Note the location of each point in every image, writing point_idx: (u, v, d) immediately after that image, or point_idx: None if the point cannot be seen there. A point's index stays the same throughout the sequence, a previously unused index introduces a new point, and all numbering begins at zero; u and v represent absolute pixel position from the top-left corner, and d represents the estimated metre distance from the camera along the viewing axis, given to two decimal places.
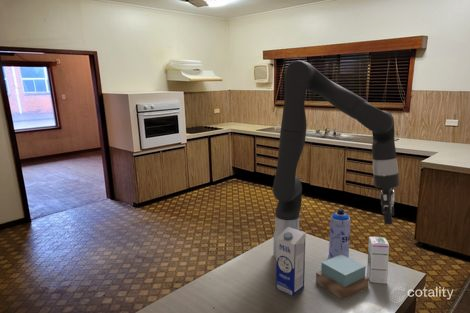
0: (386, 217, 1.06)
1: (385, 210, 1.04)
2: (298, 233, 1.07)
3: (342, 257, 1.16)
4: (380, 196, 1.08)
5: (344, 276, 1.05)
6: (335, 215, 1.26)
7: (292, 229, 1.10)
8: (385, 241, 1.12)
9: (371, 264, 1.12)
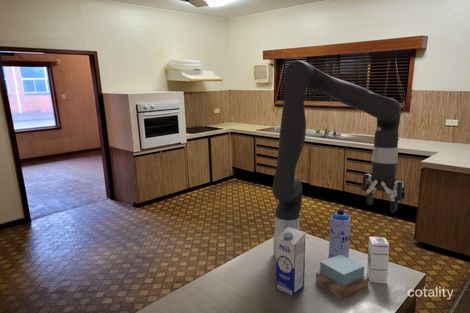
0: (395, 205, 1.06)
1: (401, 197, 1.04)
2: (298, 233, 1.07)
3: (341, 257, 1.16)
4: (386, 185, 1.06)
5: (342, 275, 1.05)
6: (335, 215, 1.26)
7: (292, 229, 1.10)
8: (385, 241, 1.12)
9: (371, 264, 1.12)
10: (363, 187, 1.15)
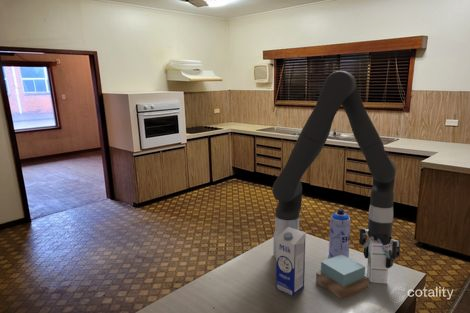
0: (391, 262, 1.10)
1: (396, 256, 1.08)
2: (298, 233, 1.07)
3: (342, 257, 1.16)
4: (382, 242, 1.10)
5: (343, 276, 1.05)
6: (335, 215, 1.26)
7: (292, 229, 1.10)
8: None
9: (371, 264, 1.12)
10: (360, 241, 1.18)
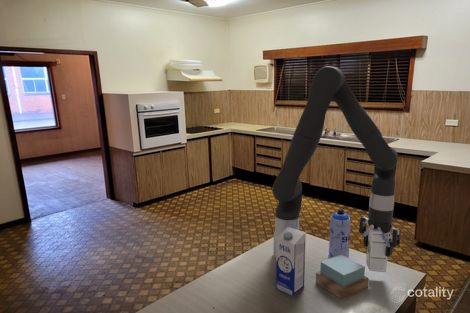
0: (390, 250, 1.09)
1: (396, 244, 1.07)
2: (298, 233, 1.07)
3: (342, 257, 1.16)
4: (382, 231, 1.09)
5: (342, 276, 1.05)
6: (335, 215, 1.26)
7: (292, 229, 1.10)
8: None
9: (371, 252, 1.12)
10: (360, 229, 1.18)
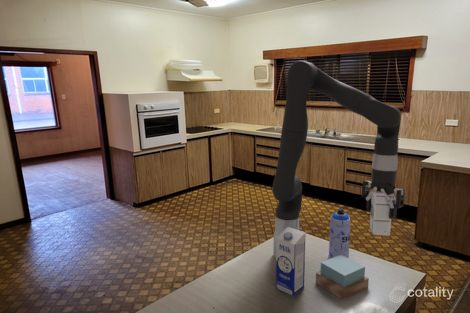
0: (394, 212, 1.07)
1: (400, 205, 1.05)
2: (298, 233, 1.07)
3: (341, 257, 1.16)
4: (385, 192, 1.07)
5: (343, 276, 1.05)
6: (335, 215, 1.26)
7: (292, 229, 1.10)
8: None
9: (374, 215, 1.09)
10: (363, 194, 1.15)
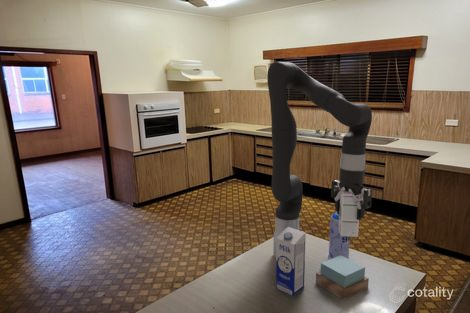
0: (362, 213, 1.04)
1: (367, 205, 1.02)
2: (298, 233, 1.07)
3: (341, 257, 1.15)
4: (353, 192, 1.04)
5: (344, 277, 1.04)
6: (335, 215, 1.26)
7: (292, 229, 1.10)
8: None
9: (342, 216, 1.06)
10: (332, 194, 1.12)
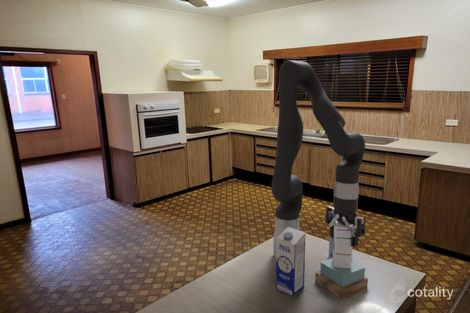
0: (356, 240, 1.05)
1: (361, 234, 1.03)
2: (298, 233, 1.07)
3: None
4: (346, 220, 1.05)
5: (342, 277, 1.05)
6: None
7: (292, 229, 1.10)
8: None
9: (335, 248, 1.08)
10: (326, 220, 1.13)
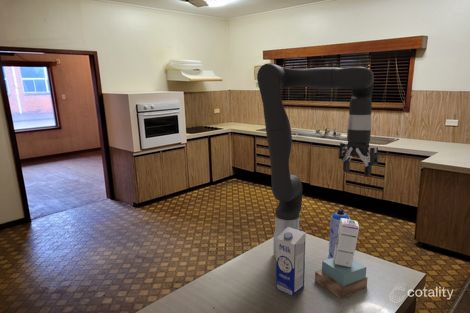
0: (369, 170, 1.11)
1: (374, 162, 1.09)
2: (298, 233, 1.07)
3: None
4: (360, 151, 1.11)
5: (343, 275, 1.05)
6: (335, 215, 1.26)
7: (292, 229, 1.10)
8: (356, 223, 1.08)
9: (338, 245, 1.08)
10: (340, 155, 1.19)
